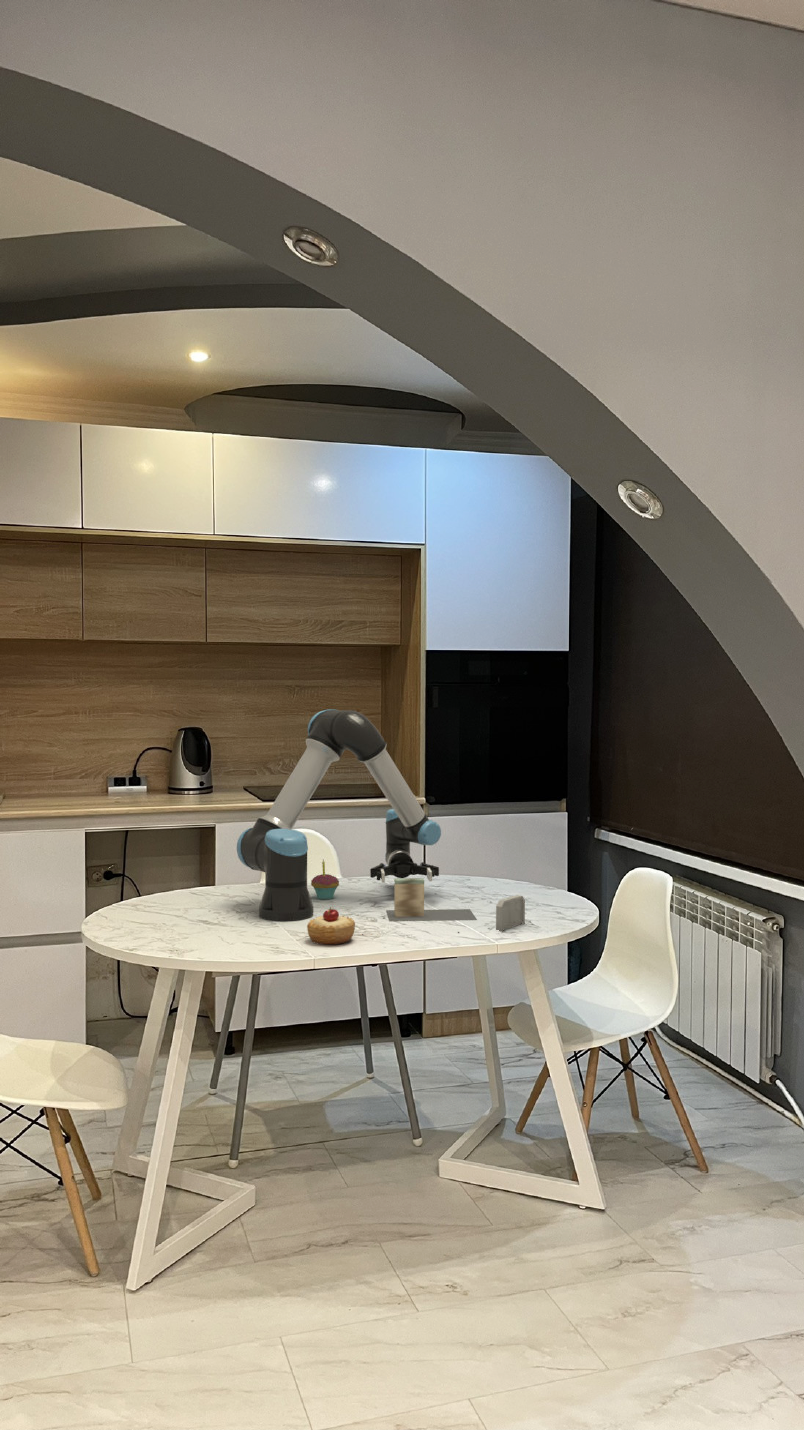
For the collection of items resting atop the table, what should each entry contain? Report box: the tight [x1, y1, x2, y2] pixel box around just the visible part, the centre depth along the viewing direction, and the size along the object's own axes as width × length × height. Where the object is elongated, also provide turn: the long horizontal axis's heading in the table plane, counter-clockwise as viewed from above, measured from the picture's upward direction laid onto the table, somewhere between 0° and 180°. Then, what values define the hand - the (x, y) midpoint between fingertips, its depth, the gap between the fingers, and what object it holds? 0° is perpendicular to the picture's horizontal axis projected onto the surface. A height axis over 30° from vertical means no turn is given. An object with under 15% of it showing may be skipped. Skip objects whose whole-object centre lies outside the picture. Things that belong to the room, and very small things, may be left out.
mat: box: [385, 908, 478, 922], centre depth 292 cm, size 24×14×1 cm, turn 95°
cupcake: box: [310, 859, 340, 900], centre depth 318 cm, size 9×8×12 cm
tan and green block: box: [393, 877, 425, 917], centre depth 291 cm, size 8×3×10 cm, turn 95°
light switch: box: [495, 894, 526, 932], centre depth 281 cm, size 2×12×8 cm, turn 143°
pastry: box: [306, 906, 356, 946], centre depth 265 cm, size 12×12×9 cm
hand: (407, 877), depth 302 cm, fingers open, 13 cm apart
